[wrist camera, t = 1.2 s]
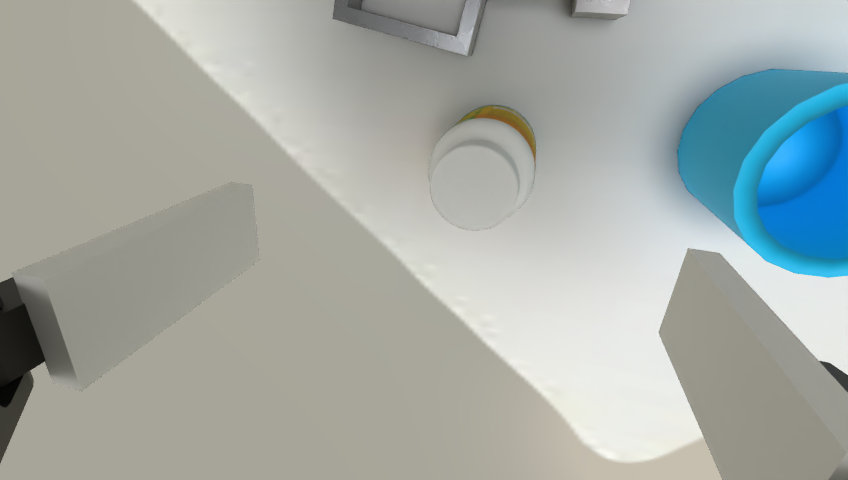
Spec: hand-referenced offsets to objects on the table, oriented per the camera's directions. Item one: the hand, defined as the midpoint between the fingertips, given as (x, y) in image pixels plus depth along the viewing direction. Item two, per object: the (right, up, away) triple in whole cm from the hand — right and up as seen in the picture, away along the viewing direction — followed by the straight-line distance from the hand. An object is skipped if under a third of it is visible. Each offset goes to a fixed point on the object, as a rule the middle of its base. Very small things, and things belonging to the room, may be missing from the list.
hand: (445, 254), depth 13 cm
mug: (+20, +6, +11) cm, 24 cm away
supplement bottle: (+4, +7, +15) cm, 17 cm away
